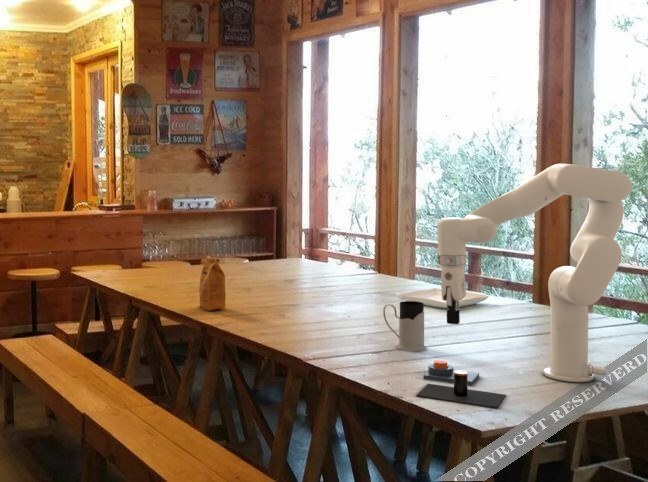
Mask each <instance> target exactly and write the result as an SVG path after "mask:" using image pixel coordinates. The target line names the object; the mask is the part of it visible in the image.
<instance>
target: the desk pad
mask: <svg viewBox="0 0 648 482" xmlns="http://www.w3.org/2000/svg"><path fill="white" fill-rule="evenodd" d="M506 395H507V394H504V393H496V392H491V391H490V392H489V391H483V390H476V389H469V388H468V395H467V396H465V397H460V396H455V395H454V386H447V385H440V384H433V383H427V384H426V385H425V386H424V387H423V388H422V389H421V390H420V391H419V392H417V394H416V397H418V398H425V399H432V400H436V401H437V400H438V401H444V402H452V403H458V404H464V405H469V406H478V407H484V408H490V409H496V410H497V409H498V408H499V407H500V405H501V403H502V402H503V400H504V399H505V398H506Z"/></svg>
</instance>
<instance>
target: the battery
mask: <svg viewBox="0 0 648 482" xmlns="http://www.w3.org/2000/svg"><path fill="white" fill-rule="evenodd" d="M467 372H468V371H467ZM467 372H466V370H459V371H454V383H453V387H454V395H455V396H460V397H465V396H467V395H468V389H469V387H468V386H469V385H468V373H467Z"/></svg>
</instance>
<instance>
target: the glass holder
mask: <svg viewBox="0 0 648 482" xmlns="http://www.w3.org/2000/svg"><path fill="white" fill-rule="evenodd" d="M388 306H390V307H392V308H393V310H394V316H395V318H396V319H398V328H399V329H398V333H399V334H398V333H397V332H396V331H395V330H394V329H393V328H392V327H391V326H390V323H389V322H388V320H387V317H386V308H387V307H388ZM424 307H425V305H424V303H422V302H416V301H404V300H402V301H400V302H399V316H398V315H397V309H396V306H395V305H394V304H391V303H389V304H386V305H384V307H383V310H382V313H383V319H384V322H385V324H386V326H387V327H388V328H389V329H390V330H391V332H392V333H394V335H395V336H396V337H397V338H398V346H397V349H399V350H400V351H401V350H402V351H408V352H423V351H425V350H426V349H427V348H426V346H425V310H424V309H425V308H424Z"/></svg>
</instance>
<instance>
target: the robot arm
mask: <svg viewBox="0 0 648 482" xmlns="http://www.w3.org/2000/svg"><path fill="white" fill-rule="evenodd" d="M632 183H633V182H632V181H631V179H630V177H629V176H628V175H627V174H626V173H624V172H622V171H619V170H612V169H605V168H599V167H591V166H584V165H578V164H573V163H556V164H553V165H551V166H549V167H547V168H545V169H544V170H542V171H541V172H539V173H537V174H536V175H534V176H533V177H531V178H529V179H528V180H526V181H524V182H523V183H521V184H520V185H519V186H516V187H514V188H513V189H511V190H510V191H507V192H505V193H504V194H502V195H500V196H498V197H496V198H494V199H491V200H490V201H488V202H486V203H484V204H482V205H481V206H479V207H478V208H476V209H474V210H473V211H471V212H469V213H468V214H467V215H465V216H464V217H463V218H462V217H442V218H439V219H438V221H437V265H438V267H441V273H440V274H441V280H440V282H441V283H440V284H441V285H440V287H441V288H440V289H441V292H442V299H443V300H444V301H445V300H446V306H447V308H446V324H448V325H459V324H460V322H461V317H460V315H461V314H460V307H459V301H461V300H462V299H463V298H464V297H465V296H466V292H467V290H466V276H465V275H466V274H465V267H466V266H467V243H471V244H487V243H491V242H492V241H493V240H494V239H495V238H496V236H497V233H498V229H497V228H498V226H501V225H502V224H504V223H506V222H509V221H511V220H512V221H513V220H515V219H516V220H517V219H521V218H525V217H528V216H531V215H534V214H536V212H538V211H539V210H541V209H543V208H545V207H546V206H548V205H549V204H550V203H552V202H554V201H556V200H557V199H559V198H560V197H562V196H563V195H564V196H565V195H566V196H567V195H568V196H573V197H578V198H584V199H587V201H588V206H589V207H588V208H589V209H588V213H587V215H586V217H585V220H584V222H583V224H582V225H581V226H580V229H579V231H578V233H577V234H576V236H575V238H574V240H573V241H572V243H571V245H570V249H569V253H570V256H571V258H572V260H573V261H574V262H575V263H577V264H576V265H575V266H576V267H575V266H571V265H563V266H560V267H557V268H555V269H554V270H553V271H552V272H551V273H550V275H549V278H548V282H547V286H548V287H547V289H548V297H549V305H550V331H549V333H550V336H549V338H550V339H549V340H550V342H549V367H545V368H544V369H543V374H544V375H545V377H547V378H550V379H553V380H556V381H561V382H567V383H568V382H569V383H587V382H592V381H593V380H594V379H595V375H598V376H606V375H607V368H603V367H602V366H595V365H593V364H591V361H590V360H588V359H589V357H588V356H589V307H588V306H592V305H594V304H595V303H596V302H598V301H599V300H600V299H601V297H602V296H603V295H604V293H605V292H606V290H607V288H608V287H609V284H610V283H611V281H612V279H613V277H614V276H615V273H616V272H617V270H618V268H619V266H620V264H621V262H622V256H623V253H622V247H621V245H620V244H619V242H617V240H616V239H615V237H616V236H617V233H618V231H619V229H620V227H621V225H622V222H623V219H624V206H623V202H622V201H623V200H625V199H626V198H628V196H629V195H630V194H631V192H632V190H633V184H632Z"/></svg>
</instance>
